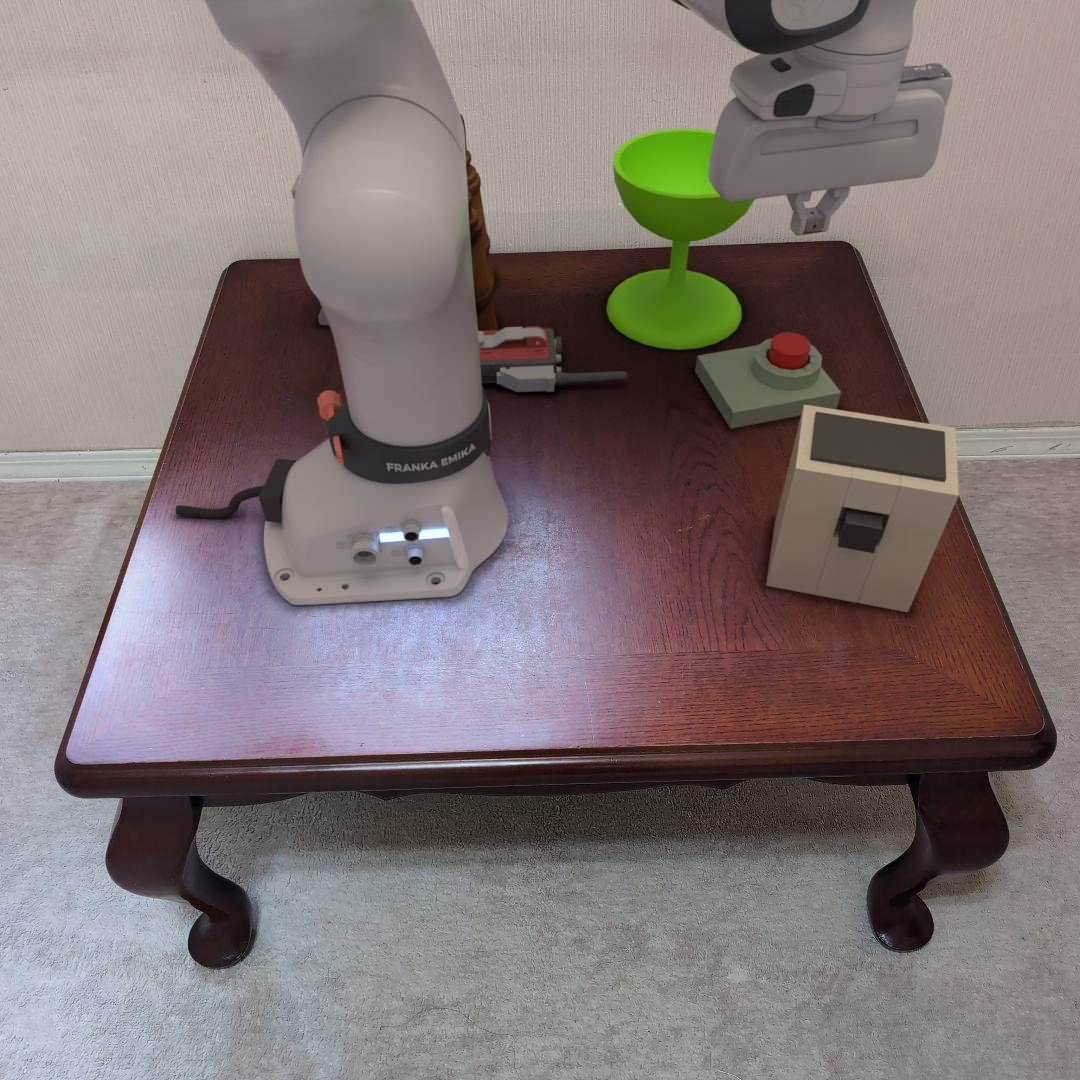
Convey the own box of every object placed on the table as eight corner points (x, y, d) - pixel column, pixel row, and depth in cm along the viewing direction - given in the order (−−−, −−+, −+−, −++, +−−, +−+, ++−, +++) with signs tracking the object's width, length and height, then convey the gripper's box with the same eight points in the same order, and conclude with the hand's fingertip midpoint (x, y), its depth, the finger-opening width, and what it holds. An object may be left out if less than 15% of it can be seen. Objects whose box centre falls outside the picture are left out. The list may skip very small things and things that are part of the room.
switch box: (730, 429, 97) (735, 398, 95) (694, 372, 104) (698, 341, 101) (836, 408, 99) (845, 378, 97) (795, 354, 106) (802, 323, 103)
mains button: (777, 374, 98) (781, 357, 96) (761, 351, 100) (765, 335, 99) (813, 367, 99) (817, 351, 97) (796, 345, 101) (800, 329, 100)
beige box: (765, 585, 83) (796, 464, 73) (774, 522, 88) (804, 400, 78) (907, 612, 81) (960, 491, 70) (908, 546, 86) (957, 423, 76)
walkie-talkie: (441, 399, 101) (628, 392, 102) (437, 366, 98) (630, 358, 99) (443, 350, 107) (619, 343, 108) (439, 317, 104) (621, 310, 105)
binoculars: (428, 265, 120) (411, 103, 105) (493, 262, 120) (485, 101, 105) (425, 351, 107) (405, 181, 93) (498, 348, 108) (490, 178, 93)
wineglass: (589, 284, 116) (593, 139, 103) (710, 265, 119) (730, 120, 106) (631, 359, 106) (642, 208, 93) (764, 336, 108) (793, 186, 95)
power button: (837, 547, 76) (845, 522, 74) (839, 529, 77) (846, 505, 75) (873, 553, 75) (882, 529, 73) (874, 535, 77) (883, 511, 75)
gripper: (938, 47, 80) (893, 201, 91) (713, 70, 77) (692, 227, 87) (979, 75, 76) (927, 233, 86) (744, 101, 73) (718, 263, 83)
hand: (808, 231), depth 87 cm, fingers closed
